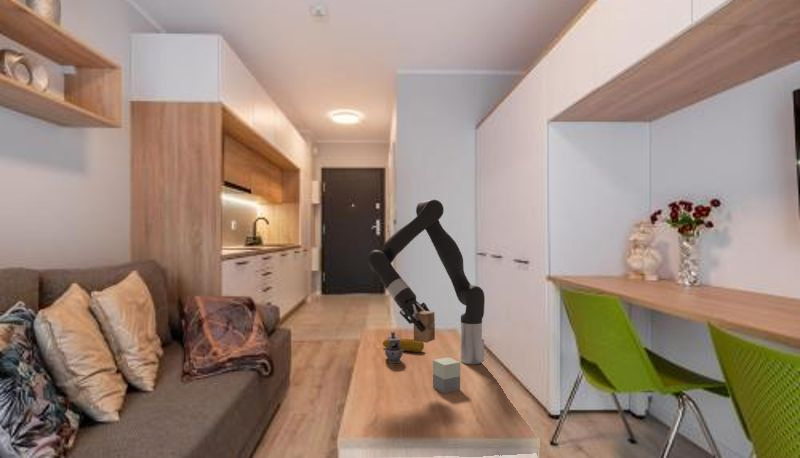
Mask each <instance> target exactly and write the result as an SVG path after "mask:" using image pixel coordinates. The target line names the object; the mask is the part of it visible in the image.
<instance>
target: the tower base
mask: <svg viewBox="0 0 800 458" xmlns="http://www.w3.org/2000/svg"><path fill="white" fill-rule="evenodd" d="M432 388H433V389H435V390H437V391H438V392H440V393H442V394H448V393H452V392H458V391H461V375H460V376H459V377H454V378H449V379H442V378H440V377H438V376H436V375H434V374H433V373H432Z"/></svg>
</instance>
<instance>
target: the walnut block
mask: <svg viewBox="0 0 800 458" xmlns="http://www.w3.org/2000/svg"><path fill="white" fill-rule="evenodd" d="M413 314H414V313H413ZM416 316H417V317H418V318H419V320H420V321H421V323H422V324H423V325H424V327H425V328H426V329H425V330H424V331H423V332H421V331H420V330H419V329H418V328H417V326H416V325H414V324H413V339H414V341H420V342H423V343H426V344H427V343H429V342H432V341H434V340H436V335H435V334H436V332H435V331H436V330H435V329H436V326H435V325H436V323H435V321H436V319H435V316H436V315H435V311H431V310H429V311H419V312H417V313H416ZM414 318H415V317H414Z"/></svg>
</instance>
